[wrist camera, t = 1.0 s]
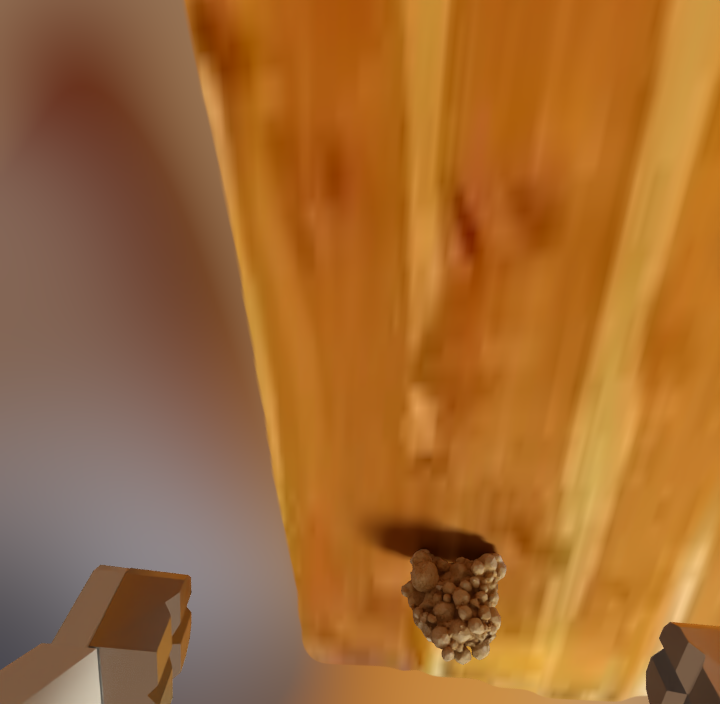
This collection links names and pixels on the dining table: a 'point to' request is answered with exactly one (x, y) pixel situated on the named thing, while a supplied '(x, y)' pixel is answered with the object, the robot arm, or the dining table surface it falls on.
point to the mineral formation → (456, 602)
